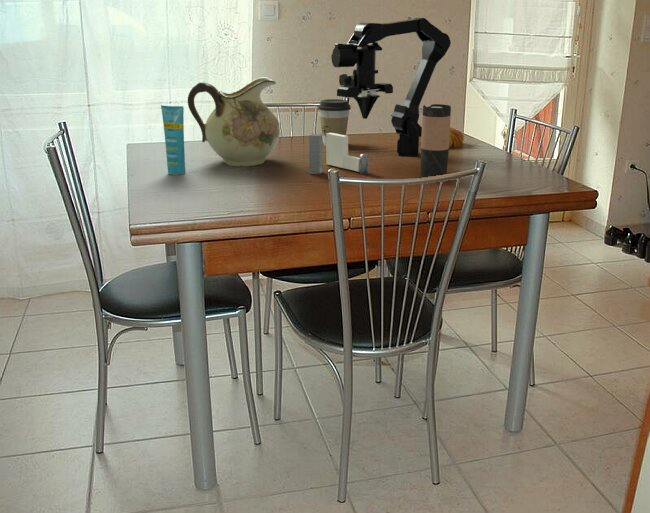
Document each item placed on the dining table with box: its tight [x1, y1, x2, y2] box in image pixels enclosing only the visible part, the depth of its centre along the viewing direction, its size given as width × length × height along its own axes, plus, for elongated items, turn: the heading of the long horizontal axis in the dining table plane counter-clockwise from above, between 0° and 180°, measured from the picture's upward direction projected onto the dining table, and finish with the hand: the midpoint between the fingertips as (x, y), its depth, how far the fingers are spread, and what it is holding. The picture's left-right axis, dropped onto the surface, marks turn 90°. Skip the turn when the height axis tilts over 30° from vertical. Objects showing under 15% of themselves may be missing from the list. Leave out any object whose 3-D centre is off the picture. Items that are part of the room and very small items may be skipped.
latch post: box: [308, 133, 323, 175], centre depth 206 cm, size 3×3×11 cm
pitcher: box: [187, 76, 281, 167], centre depth 218 cm, size 22×24×25 cm
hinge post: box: [359, 153, 370, 175], centre depth 207 cm, size 2×2×6 cm
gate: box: [325, 133, 360, 173], centre depth 212 cm, size 14×2×9 cm, turn 40°
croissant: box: [449, 126, 464, 149], centre depth 248 cm, size 14×16×8 cm
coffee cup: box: [317, 98, 352, 147], centre depth 246 cm, size 11×11×15 cm
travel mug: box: [420, 103, 452, 178], centre depth 198 cm, size 8×8×20 cm
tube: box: [160, 104, 186, 176], centre depth 205 cm, size 7×5×19 cm, turn 72°
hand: (364, 118), depth 223 cm, fingers closed
